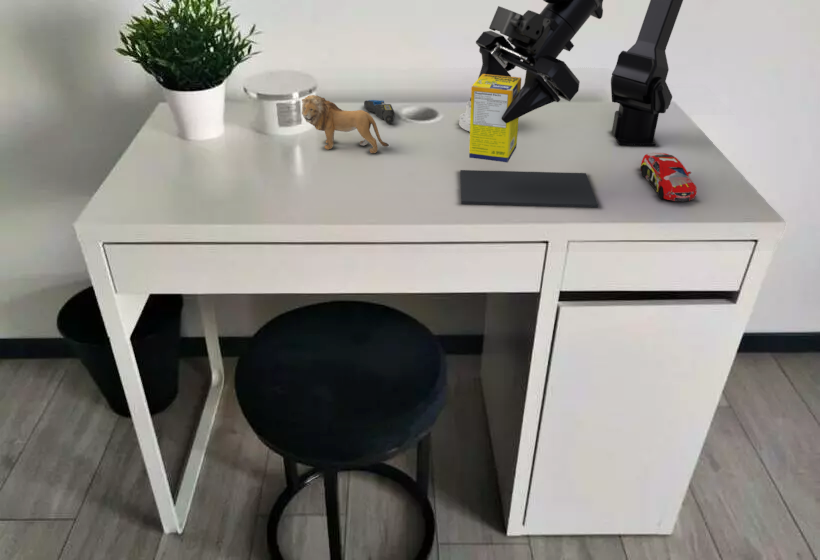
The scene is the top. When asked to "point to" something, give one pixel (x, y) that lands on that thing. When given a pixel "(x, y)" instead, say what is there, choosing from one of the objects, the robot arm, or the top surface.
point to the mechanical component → (466, 117)
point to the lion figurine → (339, 121)
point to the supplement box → (493, 118)
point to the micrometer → (380, 109)
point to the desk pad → (526, 188)
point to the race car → (668, 177)
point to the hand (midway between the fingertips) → (487, 111)
